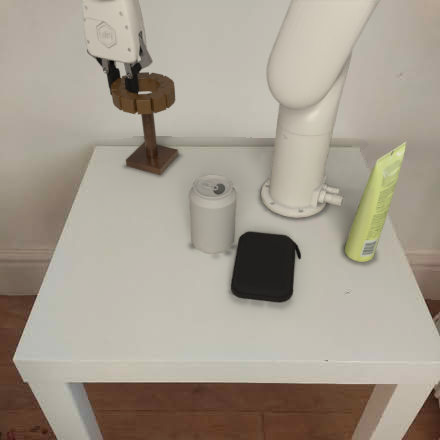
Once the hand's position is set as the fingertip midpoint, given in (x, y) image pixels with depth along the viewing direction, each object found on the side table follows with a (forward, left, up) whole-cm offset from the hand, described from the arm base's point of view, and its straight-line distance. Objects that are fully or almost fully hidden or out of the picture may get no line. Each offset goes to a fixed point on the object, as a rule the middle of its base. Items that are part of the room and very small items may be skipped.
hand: (124, 93), depth 87 cm
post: (-5, 0, -13) cm, 14 cm away
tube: (-51, +10, -14) cm, 53 cm away
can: (-27, +18, -14) cm, 35 cm away
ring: (-4, 0, 0) cm, 4 cm away
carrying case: (-38, +21, -14) cm, 45 cm away
